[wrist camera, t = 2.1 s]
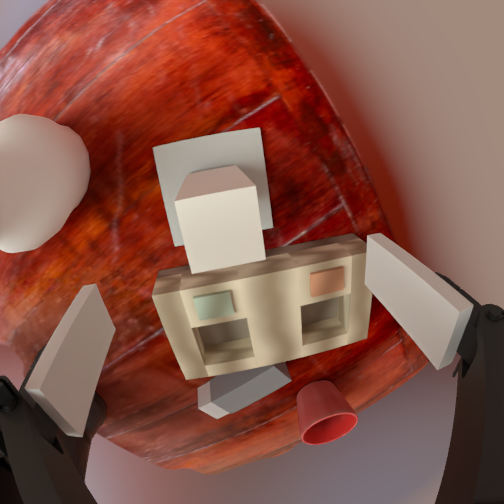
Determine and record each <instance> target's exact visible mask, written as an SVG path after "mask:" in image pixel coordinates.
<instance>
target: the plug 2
mask: <svg viewBox="0 0 504 504" xmlns="http://www.w3.org/2000/svg"><path fill="white" fill-rule="evenodd" d="M291 381H292V380H291V377H290V374H289V371H288V368H287V365H286V363H285V362H281V363H276V364H272V365H268V366H263V367H258V368H253V369H248V370H243V371H238V372H233V373H227V374H221V375H217V376H216V377H214V378H212V379H210V380H209V382H207V383H206V384H204V385H202V386H200V387H199V388H198V409H200V410H201V411H203V412H205V413H207V414H209V415H210V416H212V417H214V418H216V419H219V418H221V417H223V416H225V415H227V414H229V413H231V414H232V413H234V412H236V411H238V410H240V409H242V408H244V407H246V406H248V405H250V404H252V403H254V402H255V401H257V400H259V399H261V398H263V397H265V396H266V395H268V394H270V393H272V392H273V391H275V390H277V389H279V388H280V387H282V386H284V385H286V384H287V383H289V382H291Z"/></svg>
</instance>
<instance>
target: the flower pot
mask: <svg viewBox="0 0 504 504" xmlns="http://www.w3.org/2000/svg"><path fill="white" fill-rule="evenodd" d="M297 408H298V418H299V427H300V434H301V439H302V441H303V442H304V443H306V444H312V445H318V444H324V443H327V442H330V441H333V440H336V439H338V438H340V437H342V436H343V435H345V434H347V433H348V432H349V431H350V430H351V429H353V428H354V427H355V425H356V424H357V422H358V416H357V414H356V413H355V411H354V410H353V409H352V407H351V406H350V405H349V403H348V402H347V401H346V399H345V398H344V397H343V395H342V394H341V393H340V392H339V390H338V389H337V388H336V387H335V386H334V384H333V383H332V382H330V381H327V380H320V381H315V382H312V383H310V384H308V385H306V386H304V387H303V388H302V389H301V390H300V391H299V392H298V394H297Z"/></svg>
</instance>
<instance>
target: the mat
mask: <svg viewBox="0 0 504 504" xmlns="http://www.w3.org/2000/svg"><path fill="white" fill-rule="evenodd" d="M153 152H154V157H155V162H156V167H157V172H158V177H159V182H160V186H161V191H162V195H163V200H164V204H165V208H166V213H167V217H168V221H169V225H170V229H171V233H172V237H173V241H174V245H175V246H180V245H184V241H183V237H182V233H181V229H180V225H179V220H178V216H177V212H176V207H175V203H174V201H175V198H176V196H177V194H178V192H179V190H180V188H181V186H182V184H183V182H184V180H185V178H186V175H187V174H190V173H191V172H194V171H199V170H204V169H209V168H214V167H220V166H225V165H231V164H232V165H233V166H234V165H236V166H237V167H238V168H239V169H240V170H241V171H242V172H243V173H244V174H245V175H246V176H247V177H248V178H249V179H250V180H251V181H252V182H253V183H254V184H255V186H256V191H257V198H258V206H259V213H260V220H261V227H262V230H263V229H269V228H273V222H272V214H271V206H270V198H269V190H268V182H267V175H266V167H265V160H264V153H263V145H262V138H261V131H260V128H252V129H245V130H238V131H231V132H225V133H219V134H213V135H208V136H203V137H197V138H192V139H187V140H183V141H178V142H173V143H169V144H165V145H160V146H156V147H153Z"/></svg>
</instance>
